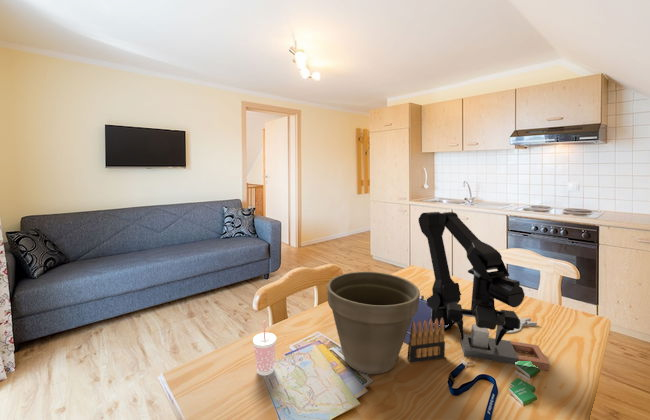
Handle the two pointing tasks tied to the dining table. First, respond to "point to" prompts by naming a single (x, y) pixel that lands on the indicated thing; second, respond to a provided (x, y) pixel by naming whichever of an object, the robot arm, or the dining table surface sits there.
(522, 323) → the pliers
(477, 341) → the grey metal block
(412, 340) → the ammunition clip
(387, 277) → the plant pot
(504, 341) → the grey copper slotted plate
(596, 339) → the dining table surface
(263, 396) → the dining table surface
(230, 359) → the dining table surface
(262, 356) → the beverage cup
